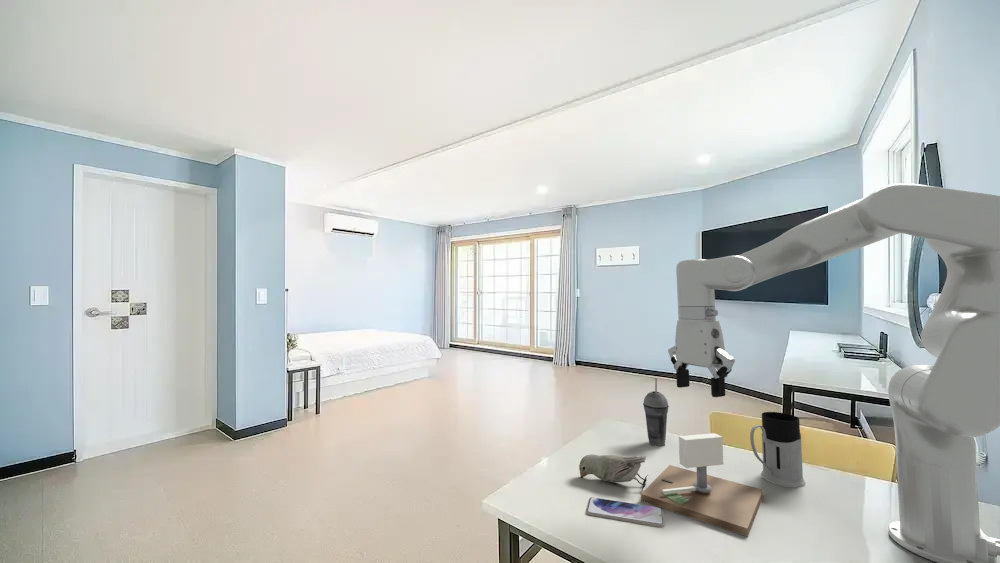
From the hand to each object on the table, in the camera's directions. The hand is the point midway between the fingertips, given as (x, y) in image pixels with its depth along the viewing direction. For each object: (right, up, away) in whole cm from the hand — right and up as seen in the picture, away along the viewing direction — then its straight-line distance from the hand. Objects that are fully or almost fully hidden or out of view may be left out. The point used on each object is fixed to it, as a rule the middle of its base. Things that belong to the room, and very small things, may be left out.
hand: (699, 391), depth 87 cm
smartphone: (-19, -24, -6) cm, 31 cm away
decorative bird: (-17, -24, +7) cm, 31 cm away
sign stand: (-2, -22, -1) cm, 22 cm away
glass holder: (+22, -24, +7) cm, 33 cm away
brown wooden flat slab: (0, -23, -1) cm, 23 cm away
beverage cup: (+3, -25, +31) cm, 40 cm away
